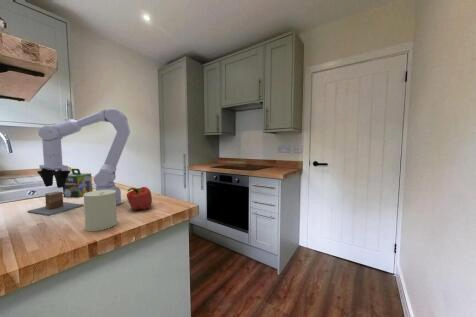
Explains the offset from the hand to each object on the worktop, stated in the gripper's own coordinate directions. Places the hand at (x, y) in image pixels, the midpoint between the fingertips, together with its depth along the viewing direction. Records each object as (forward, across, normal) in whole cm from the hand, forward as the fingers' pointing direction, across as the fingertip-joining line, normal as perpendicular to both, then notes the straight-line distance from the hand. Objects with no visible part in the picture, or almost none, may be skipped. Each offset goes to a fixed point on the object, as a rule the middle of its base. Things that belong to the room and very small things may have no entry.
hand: (54, 186), depth 83 cm
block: (+9, 0, 0) cm, 9 cm away
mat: (+10, 0, 0) cm, 10 cm away
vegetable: (+10, +34, +11) cm, 37 cm away
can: (+10, +35, -7) cm, 37 cm away
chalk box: (+10, -15, +19) cm, 26 cm away
